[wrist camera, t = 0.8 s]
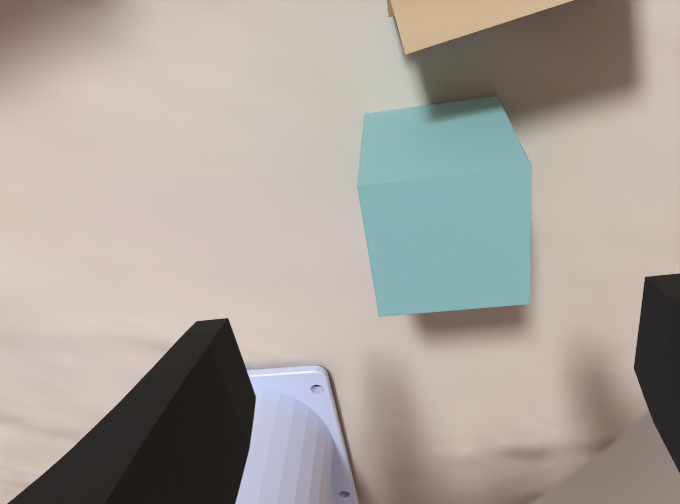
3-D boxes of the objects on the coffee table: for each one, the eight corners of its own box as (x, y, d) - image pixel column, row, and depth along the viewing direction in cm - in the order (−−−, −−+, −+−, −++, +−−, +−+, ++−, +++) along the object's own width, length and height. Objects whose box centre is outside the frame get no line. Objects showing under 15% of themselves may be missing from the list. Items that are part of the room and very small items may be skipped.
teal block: (499, 211, 19) (530, 304, 15) (380, 224, 20) (379, 316, 16) (497, 95, 17) (531, 165, 13) (364, 113, 18) (357, 186, 14)
